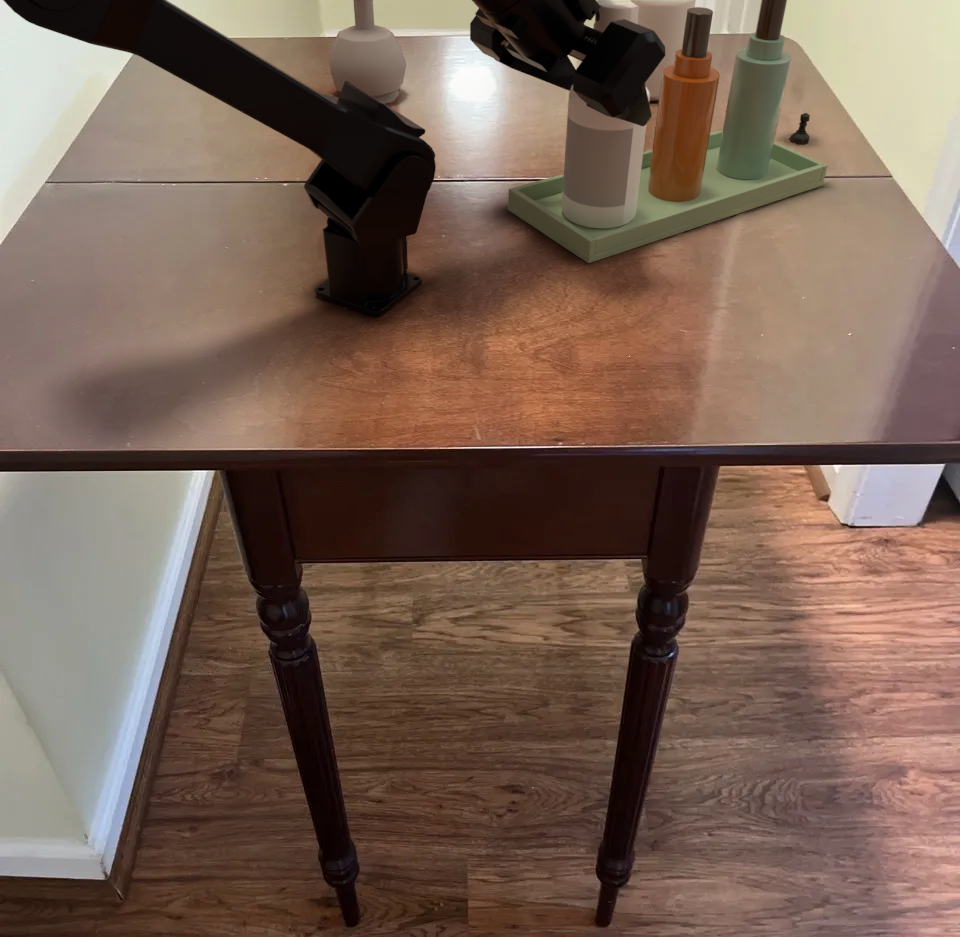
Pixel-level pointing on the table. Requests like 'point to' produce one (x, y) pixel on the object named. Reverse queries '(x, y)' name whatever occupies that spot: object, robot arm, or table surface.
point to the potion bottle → (368, 56)
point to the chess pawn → (801, 131)
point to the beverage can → (663, 32)
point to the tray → (666, 203)
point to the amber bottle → (685, 114)
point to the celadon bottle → (755, 98)
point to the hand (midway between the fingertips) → (611, 103)
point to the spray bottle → (602, 151)
